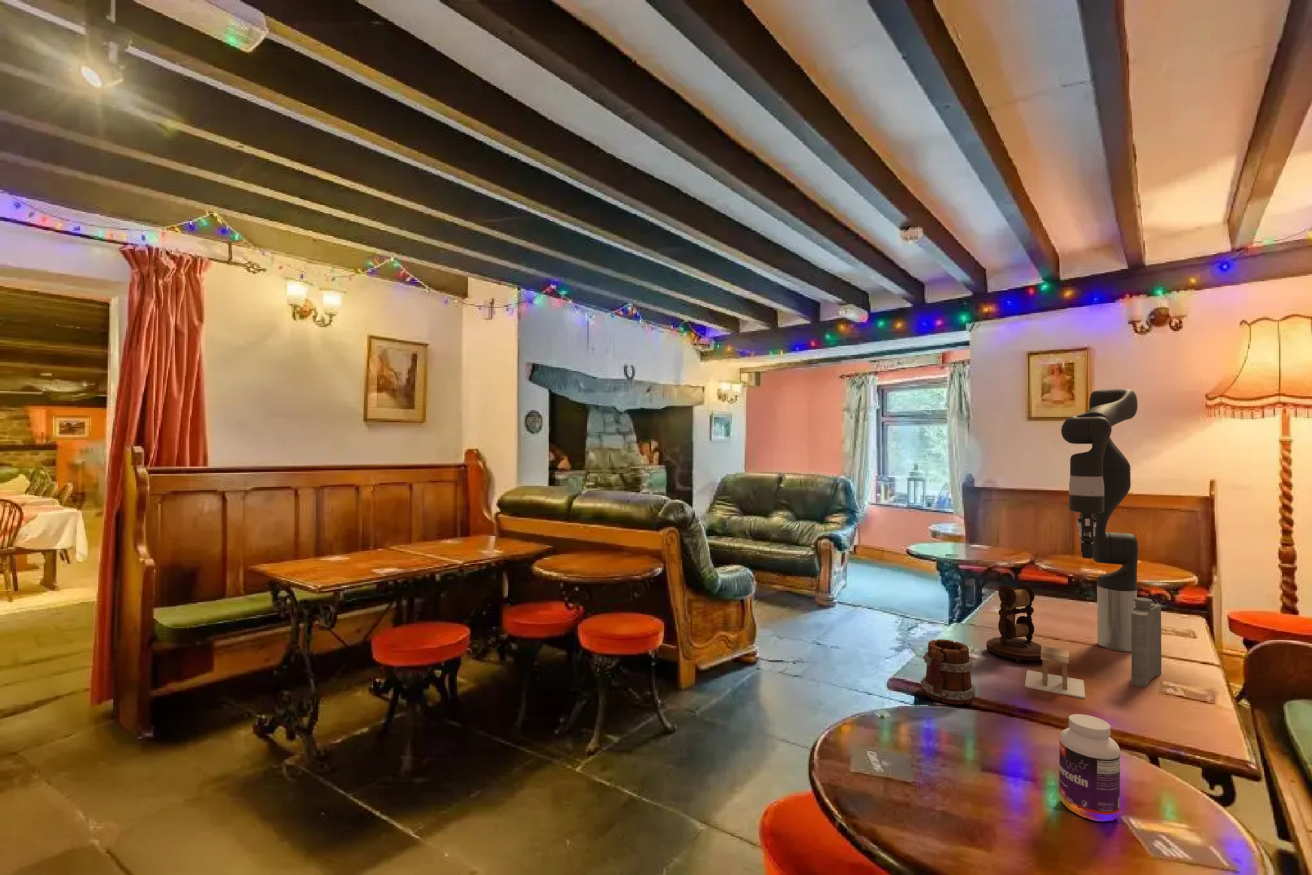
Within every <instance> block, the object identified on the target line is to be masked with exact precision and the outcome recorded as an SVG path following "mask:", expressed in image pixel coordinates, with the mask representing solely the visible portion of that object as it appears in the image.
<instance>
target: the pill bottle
mask: <svg viewBox="0 0 1312 875" xmlns="http://www.w3.org/2000/svg"><path fill="white" fill-rule="evenodd" d="M1111 734H1112V733H1111V725H1110V723H1108V722H1107V721H1105V720H1103V718H1099V717H1095V716H1092V715H1088V714H1082V713H1081V714H1079V713H1074V714H1071V715H1069V717H1068V727H1066V728H1065V729H1063V730H1062V731H1061V732H1060V734H1059V750H1058V751H1059V758H1058V759H1059V763H1058V764H1059V766H1058V769H1059V773H1058V774H1059V775H1058V778H1059V779H1058V780H1059V782H1058V785H1059V786H1058V793H1059V792H1060V795H1061V796H1062V797H1063V798H1064V799H1065V800H1066V801H1068V802H1069V803H1070V804H1073V805H1075V806H1077V807H1078V808H1082V809H1084V810H1086V811H1088V812H1093V813H1098V814H1104V815H1106V814H1107V815H1109V814H1114V813H1117V812H1119V811H1120V812H1121V748H1120V746H1119V744H1118V743H1117V742H1116V741H1115V740H1114V739H1113V738H1111V737H1110V736H1111Z"/></svg>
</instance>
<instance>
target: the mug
mask: <svg viewBox="0 0 1312 875" xmlns="http://www.w3.org/2000/svg"><path fill="white" fill-rule="evenodd" d="M969 649H970V648H969V646H968V645H966V644H965V643H962V642H960V641H954V640H951V639H942V638H941V639H938V638H937V639H932V640H930V641H928V643H927V651H926V652H925V653H924V655H923V656H922V659H923V660H924V661H923V662H924V663H925V664H926V669H925V671H926V673H925V676H924V677H922V679H921V680H920V684H921V688H922V689H923V692H924V694H925V695H926V696H927V697H928V698H931V700H935V701H938V702H940V701H941V703H944V704H949V705H951V704H952V705H964V704H965V705H967V704H970V703H971V702H973V701H974V697H975V696H976V694H977V693H976V686H975V685H974V684H973V683H972V677H971V675H972V674H971V671H972V670H973V669H974V667H975V666H974V663H973V659H972V658H971V657H970V650H969Z"/></svg>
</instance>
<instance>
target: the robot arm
mask: <svg viewBox="0 0 1312 875" xmlns="http://www.w3.org/2000/svg"><path fill="white" fill-rule="evenodd" d="M1137 397H1138V396H1137V394H1136V393H1135V391H1134V390H1132V389H1130V388H1116V389H1114V388H1112V389H1098V390H1093V391H1092V392H1091V394H1090V395H1089V401H1088V407H1089V408H1088V410H1086V411H1085V412H1084V413H1083V412H1082V413H1079V414H1075V415H1073V416H1069V417H1068V418H1066V419H1065V421H1063V423H1062V425H1061V430H1060V432H1061V437H1062V438H1063V439H1064V441H1065V442H1066V443H1069V444H1073V445H1091V448H1090V449H1089V450H1088V451H1085V452H1078V453H1074V454H1072V455H1071V456H1070V459H1069V482H1068V509H1069V511H1071V512H1073V513H1080V514H1079V517H1077V518H1076V524H1077V529H1078V530H1077V531H1078V535H1079V538H1080V551H1081V552H1080V553H1081V556H1082V558H1083V559H1088V560H1089V559H1090V560H1091V559H1092V560H1093V561H1094V562H1095V563H1097V564H1108V565H1118V566H1120V565H1121V567H1120V568H1119V569H1116V570H1114V571H1113V572H1109V573H1103V574H1100V575H1098V576H1097V580H1096V583H1097V584H1096V590H1097V591H1096V593H1097V595H1096V596H1097V601H1096V603H1097V606H1096V607H1097V616H1096V617H1097V632H1096V634H1097V645H1098V646H1101V647H1102V648H1105V649H1109V650H1113V651H1119V652H1130V653H1131V611H1132V610H1133V609H1134V608H1135V607H1136V606H1135V603H1136V602H1135V601H1134V598H1136V597H1138V561H1139V543H1138V539H1137V536H1135V535H1134V534H1132V533H1129V532H1128V533H1127V532H1115V531H1114V532H1112V531H1110V532H1109V531H1106V530H1107V529H1106V528H1107V524H1108V522H1109V520H1110V517H1111V516H1112V514H1113V512H1114V511H1115V510H1116V508H1117V507H1118V506H1119V505H1120V504H1121V503H1122V502H1123V500H1124V499H1125V498H1126V497H1127V494H1129V492H1130V490H1131V485H1132V484H1131V482H1132V481H1131V477H1132V476H1131V465H1130V462H1129V461H1128V459H1127V457H1126V456H1125V455H1124V453H1123V452H1122V451H1121V450H1120V449H1119V447H1118V446H1117V445H1116V444H1115V443H1114V441H1113V440H1112V438H1111V434H1112V427H1113V426H1115V425H1117V424H1119V423H1121V422H1123V421H1127V420H1130V419H1133V418H1134V417H1135V415H1136V414H1137V412H1138V403H1139V402H1138V398H1137Z"/></svg>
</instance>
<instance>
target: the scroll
mask: <svg viewBox="0 0 1312 875" xmlns="http://www.w3.org/2000/svg"><path fill="white" fill-rule="evenodd" d="M1035 595H1036V594H1035V592H1034V589H1033V587H1032V586H1031V585H1030V584H1028V583H1026V582H1025V583H1024V582H1023V583H1020V584H1018V585H1017V587H1016V589H1014V588H1013V587H1012V586H1010V585H1008V584H1003V585H1001V586H1000V587H999V589H998V598H999V601H1000V605H999V607H1000V609H999V610H998V615H999V618H998V622H997V623H998V624H997V626H998V631H999V634H1000V636H997V637H993V638H990V639H988V640H987V641H986V644H985V646H986V650H987V652H988V653H991V652H992V653H994V654H997V655H999V656H1002V657H1006V658H1010V659H1015V661H1016V663H1017V664H1018V665H1019V664H1021V661H1022V660H1023V661H1040V660H1042V659H1041V646H1042V645H1041V644H1039V643H1037V642H1034V641H1033V638H1034V637H1033V634H1034V633H1035V626H1034V623H1033V618H1032V615H1033V613H1034V612H1035V609H1034V607H1033V602H1034V600H1035V597H1036V596H1035ZM1019 614H1026V615H1027V616H1025V615H1021V616H1019V617H1017V619H1016V615H1019ZM1024 637H1025V639H1024Z"/></svg>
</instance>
